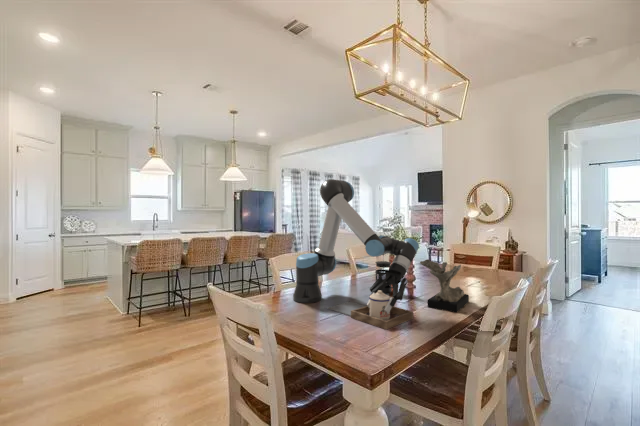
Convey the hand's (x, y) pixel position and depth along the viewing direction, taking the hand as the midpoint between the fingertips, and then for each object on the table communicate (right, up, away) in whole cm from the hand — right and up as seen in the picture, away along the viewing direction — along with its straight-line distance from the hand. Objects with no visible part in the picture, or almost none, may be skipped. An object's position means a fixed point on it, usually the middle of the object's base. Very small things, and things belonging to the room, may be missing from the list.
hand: (377, 309), depth 138 cm
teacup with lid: (+2, -4, +2) cm, 5 cm away
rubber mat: (-10, -4, +15) cm, 19 cm away
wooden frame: (+2, -5, +2) cm, 6 cm away
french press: (+12, -4, +47) cm, 49 cm away
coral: (+36, -4, +23) cm, 43 cm away
